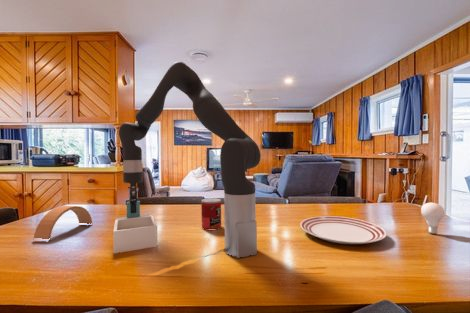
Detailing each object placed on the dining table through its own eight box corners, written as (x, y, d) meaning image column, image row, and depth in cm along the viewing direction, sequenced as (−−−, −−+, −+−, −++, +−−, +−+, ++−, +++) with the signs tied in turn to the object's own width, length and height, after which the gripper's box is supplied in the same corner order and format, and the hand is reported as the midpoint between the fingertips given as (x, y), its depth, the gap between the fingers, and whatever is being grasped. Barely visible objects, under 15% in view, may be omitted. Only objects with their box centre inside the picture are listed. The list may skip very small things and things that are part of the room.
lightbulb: (449, 237, 78) (449, 204, 78) (427, 236, 80) (427, 204, 80) (437, 231, 85) (436, 201, 85) (417, 230, 86) (416, 200, 86)
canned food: (212, 231, 87) (211, 202, 87) (197, 228, 92) (197, 200, 92) (225, 226, 93) (225, 199, 93) (210, 223, 98) (210, 197, 98)
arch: (33, 242, 79) (32, 212, 79) (80, 225, 99) (80, 201, 99) (47, 242, 78) (47, 213, 78) (92, 225, 98) (92, 201, 98)
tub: (157, 248, 72) (157, 225, 72) (113, 256, 67) (113, 231, 67) (152, 235, 84) (152, 215, 84) (115, 240, 79) (115, 219, 79)
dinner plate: (403, 254, 66) (403, 242, 66) (303, 247, 72) (303, 236, 72) (368, 225, 93) (368, 217, 93) (298, 222, 99) (297, 214, 99)
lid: (152, 227, 88) (152, 206, 88) (115, 232, 83) (114, 210, 83) (149, 218, 101) (148, 200, 101) (116, 222, 96) (116, 203, 96)
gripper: (143, 171, 93) (144, 215, 93) (141, 170, 106) (142, 208, 106) (122, 172, 90) (123, 217, 90) (123, 170, 102) (123, 210, 102)
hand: (133, 212), depth 98 cm, fingers closed on lid, 1 cm apart
